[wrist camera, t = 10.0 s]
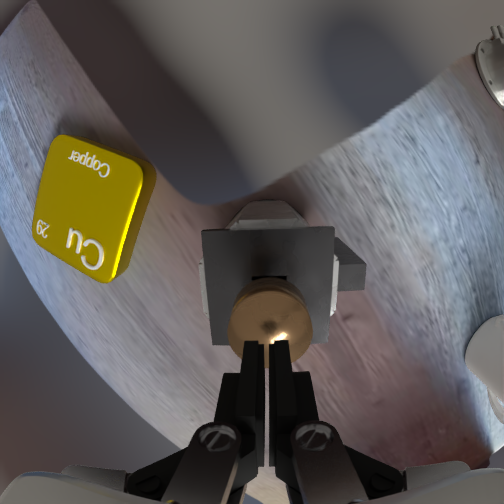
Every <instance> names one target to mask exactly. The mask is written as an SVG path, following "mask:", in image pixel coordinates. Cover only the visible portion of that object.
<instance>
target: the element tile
mask: <svg viewBox="0 0 504 504" xmlns="http://www.w3.org/2000/svg"><path fill="white" fill-rule="evenodd" d="M155 183H156V171H155V169H154V167H153V166H152V165H151V164H150V163H148V162H147V161H145V160H142V159H140V158H137V157H134V156H132V155H129V154H127V153H124V152H122V151H119V150H116V149H114V148H111V147H108V146H106V145H103V144H100V143H98V142H95V141H92V140H90V139H87V138H84V137H80V136H73V135H65V134H62V135H58V136H57V137H56V138H54V140H53V141H52V143H51V145H50V147H49V151H48V154H47V158H46V161H45V165H44V169H43V173H42V177H41V181H40V185H39V190H38V195H37V200H36V205H35V210H34V216H33V222H32V236H33V238H34V240H35V241H36V243H37V244H38V245H39V246H40V247H42V248H43V249H45V250H46V251H48V252H50V253H51V254H53V255H54V256H56V257H57V258H59V259H61V260H62V261H64V262H65V263H67V264H69V265H70V266H72V267H74V268H75V269H77V270H79V271H80V272H82V273H84V274H85V275H87V276H89V277H91V278H92V279H94V280H96V281H98V282H100V283H109V282H111V281H113V280H114V279H115V278H117V277H118V276H119V275H121V274H122V273H123V272H125V270H126V269H127V268H128V266H129V263H130V259H131V256H132V252H133V249H134V246H135V243H136V239H137V236H138V233H139V230H140V227H141V224H142V221H143V218H144V215H145V212H146V209H147V206H148V203H149V200H150V198H151V195H152V192H153V189H154V187H155Z"/></svg>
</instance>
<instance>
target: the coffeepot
mask: <svg viewBox="0 0 504 504" xmlns="http://www.w3.org/2000/svg"><path fill="white" fill-rule="evenodd" d="M465 363H466V366H467V368H468V369H469V370H470V371H471V372H472V373H473V374H474V375H475V376H476V377H477V378H479V379H480V380H481V381H482V382H483V383H484V384H485V385H486V386H487V391H488V396H489V400H490V403H491V406H492V409H493V411H494V413H495V415H496V417H497V418H498V419H499V421H500V422H501V423H503V424H504V408H503V407H502V405H501V404H500V402H499V401H498V399H497V397H498V398H499V399H500V400H501V401H502V402H503V403H504V315H503V314H502V315H499V316H495V317H492V318H490V319H488V320H487V321H486V322H484V323H483V324H482V325H481V326H480V327H479V328H478V330H477V331H476V332H475V333H474V335H473V337H472V338H471V340H470V342H469V344H468V347H467V350H466V354H465Z"/></svg>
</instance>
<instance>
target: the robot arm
mask: <svg viewBox="0 0 504 504" xmlns="http://www.w3.org/2000/svg"><path fill="white" fill-rule="evenodd" d="M491 31H492V33H493V35H494V39H493V41H492V40H483V41H481V42H480V43H479V44H478V45H477V47H476V52H475V56H476V63H477V67H478V70H479V73H480V76H481V78H482V80H483V83H484V85H485V86H486V88H487V90H488V92H489V93H490V95H491V96H492V98H493V99H494V100H495V101H496V103H497V104H498V105H499V106H500V107H501V108H502V109H504V26H502V25H499V26H497V27H495V26H491ZM264 448H265V359H264V344H259V340H253V341H244V347H243V355H242V363H241V371H240V373H224V374H223V378H222V383H221V388H220V393H219V398H218V403H217V408H216V412H215V417H214V422H209V423H207V424H204V425H202V426H201V427H199V428H198V429H197V430H196V432H195V433H194V435H193V437H192V439H191V441H190V443H189V445H188V447H186V448H184V449H182V450H181V451H178V452H176V453H174V454H172V455H170V456H168V457H166V458H164V459H162V460H159V461H157V462H155V463H153V464H151V465H148V466H146V467H144V468H142V469H139V470H137V471H136V472H134V473H127V472H126V470H116V469H105V468H97V467H89V466H82V465H71V466H68V467H66V468H65V469H64V470H63V471H62V473H61V474H58V473H51V472H27V473H24V474H22V475H20V476H18V477H17V478H16V479H15V480H14V481H12V482H11V483H10V485H9V486H8V487H7V488H6V489H5V491H4V492H3V494H2V495H1V496H0V504H242V502H243V499H244V495H245V492H246V488H247V483H248V482H249V481H251V480H252V479H254V478H255V477H257V474H258V467H264ZM271 466H275V474H276V477H278V478H279V479H281V480H282V481H283V482H285V483H286V490H287V494H288V498H289V502H290V504H504V469H499V468H487V469H478V470H470V468H469V466H468V465H467V464H465V463H464V462H461V461H451V462H445V463H439V464H432V465H425V466H417V467H407V468H405V470H400V471H398V470H397V469H395V468H393V467H391V466H389V465H386V464H384V463H382V462H379V461H377V460H375V459H373V458H371V457H368V456H366V455H364V454H362V453H360V452H358V451H356V450H354V449H352V448H350V447H348V446H346V445H344V444H343V442H342V440H341V437H340V435H339V433H338V431H337V430H336V428H335V427H334V426H332V425H331V424H330V423H327V422H324V421H319V417H318V412H317V406H316V401H315V396H314V391H313V386H312V381H311V376H310V372H309V371H305V372H292V365H291V357H290V349H289V341H288V340H274V344H269V467H271Z"/></svg>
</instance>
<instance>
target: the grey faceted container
mask: <svg viewBox="0 0 504 504" xmlns="http://www.w3.org/2000/svg"><path fill="white" fill-rule="evenodd" d="M201 235H202V248H203V257H202V259H201V260H200V263H199V274H200V284H201V293H202V302H203V311H204V313H206V315H205V316H206V317H208V318H209V319H210V328H211V336H212V344H213V345H230V344H229V341H228V336H227V330H228V324H229V320H230V316H231V312H232V308H233V304H234V301H235V298H236V296H237V295H238V293H239V292H240V291H241V289H242V288H243V287H245V286H246V285H247V284H249V283H250V282H252V276H286V281H288V282H290V283H292V284H293V285H294V286H296V287H297V288H298V289H299V290H300V292H301V293H302V295H303V296H304V299H305V302H306V305H307V308H308V312H309V315H310V319H311V322H312V327H313V336H312V340H311V343H310V344H316V343H328V334H329V323H330V316H331V315H332V314H333V313H334V311H333V310H336V299H337V291H353V290H364V286H365V275H366V263H365V262H364V261H363V260H362V259H361V258H360V257H359V256H357V255H356V254H355V253H354V252H353V251H352V250H351V249H350V248H349V247H348V246H347V245H346V244H344V243H343V242H342V241H341V240H340V239H339V238H338V237H335V228H334V227H333V226H317V227H311V226H310V225H309V224H308V223H307V222H306V221H305V220H304V219H303V217H302V216H301V215H300V214H299V213H298V211H296V210H295V209H294V208H293V207H291V206H290V205H289V204H288V203H287V202H284V201H278V200H269V199H266V200H259V201H254V202H250V203H248V204H247V205H246V206H245V207H244V208H242V209H241V210H240V211H239V212H238V213H237V214H236V215H235V217H234V218H233V220H232V221H231V222H230V223H229V224H228V225H227V226H226V228H225V229H206V230H202V231H201Z"/></svg>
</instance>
